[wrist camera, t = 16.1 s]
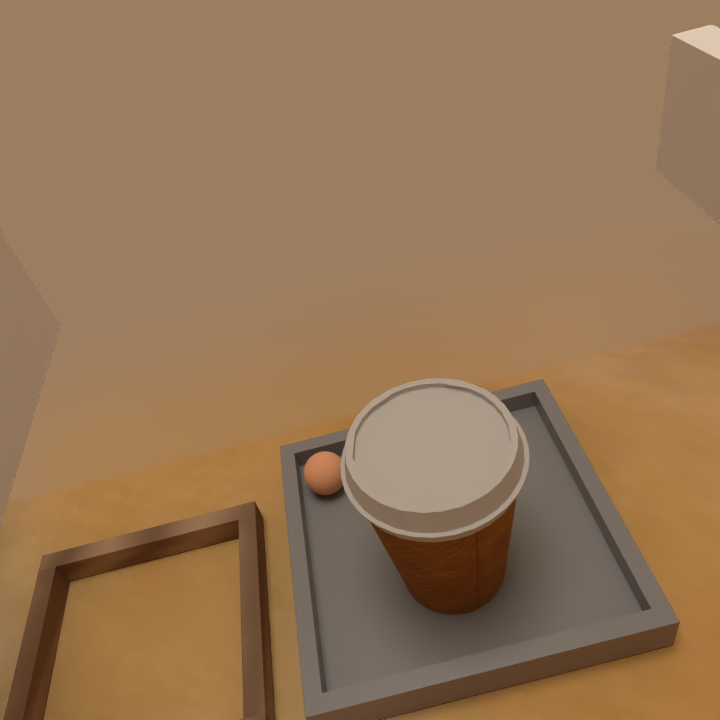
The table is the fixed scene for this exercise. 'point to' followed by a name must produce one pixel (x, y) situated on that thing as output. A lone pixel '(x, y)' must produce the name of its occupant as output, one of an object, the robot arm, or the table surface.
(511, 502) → the disposable coffee cup
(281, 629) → the table surface
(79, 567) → the frame
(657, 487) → the table surface
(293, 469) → the tray
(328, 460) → the ball
